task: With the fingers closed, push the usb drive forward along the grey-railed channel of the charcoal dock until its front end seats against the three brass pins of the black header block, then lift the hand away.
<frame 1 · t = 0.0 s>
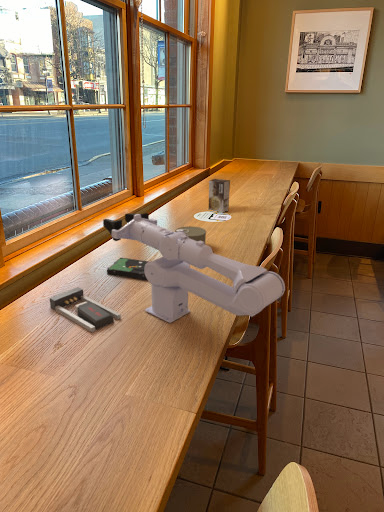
hand: (115, 219, 108), 22 cm above the counter, tool horizontal, fingers open, 7 cm apart
coffee box: (218, 211, 203), on the counter
dock: (83, 311, 103), on the counter
disk drive: (134, 273, 129), on the counter
can: (190, 248, 151), on the counter
usb drive: (92, 319, 101), on the counter
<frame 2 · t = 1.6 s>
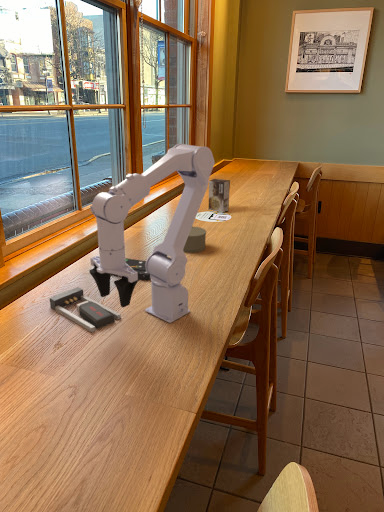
hand: (115, 300, 92), 8 cm above the counter, tool pointing down, fingers open, 7 cm apart
nothing on the counter moved.
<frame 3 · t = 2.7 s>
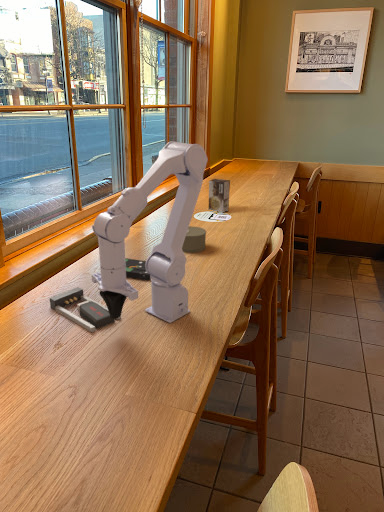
hand: (115, 316, 93), 4 cm above the counter, tool pointing down, fingers closed
nothing on the counter moved.
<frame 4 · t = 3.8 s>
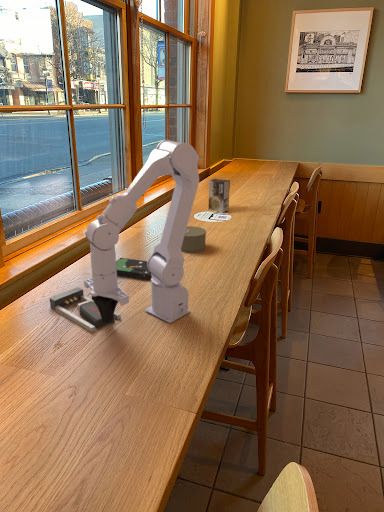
hand: (107, 320, 96), 2 cm above the counter, tool pointing down, fingers closed
usb drive: (94, 318, 102), on the counter, touching gripper
everything else where it was.
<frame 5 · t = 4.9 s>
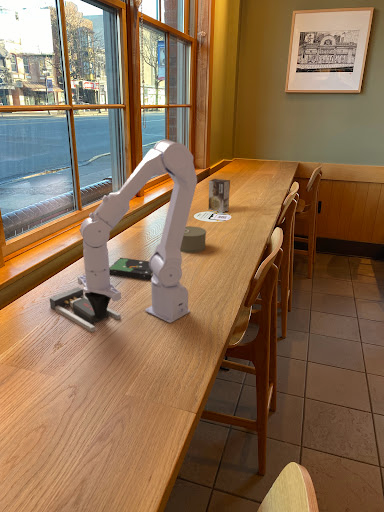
hand: (100, 316, 98), 2 cm above the counter, tool pointing down, fingers closed
usb drive: (87, 314, 103), on the counter
everything else where it was.
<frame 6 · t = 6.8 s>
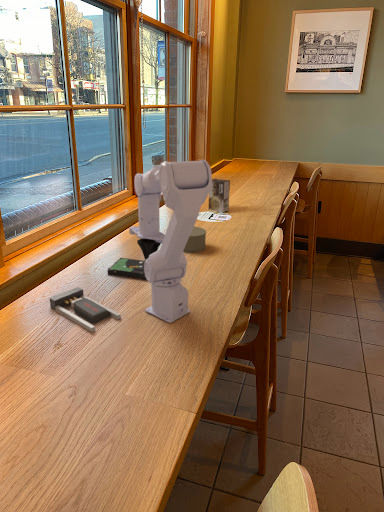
hand: (149, 262, 112), 9 cm above the counter, tool pointing down, fingers closed
nothing on the counter moved.
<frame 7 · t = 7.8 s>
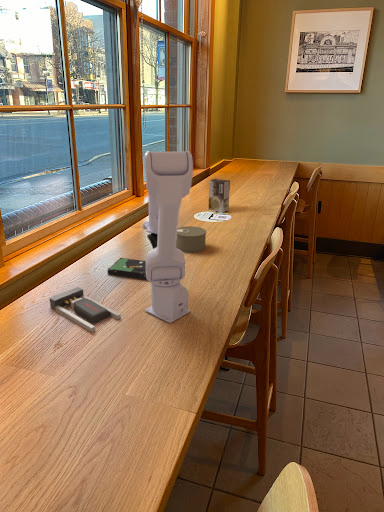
hand: (159, 257, 115), 9 cm above the counter, tool pointing down, fingers closed
nothing on the counter moved.
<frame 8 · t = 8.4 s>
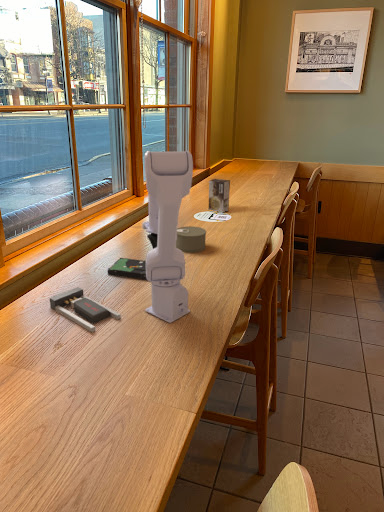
hand: (159, 257, 115), 9 cm above the counter, tool pointing down, fingers closed
nothing on the counter moved.
at the end: usb drive 0.9 cm off-centre on the dock, point -0.7 cm above the dock's base; usb drive moved 3.0 cm from its start; the gripper is holding nothing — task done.
